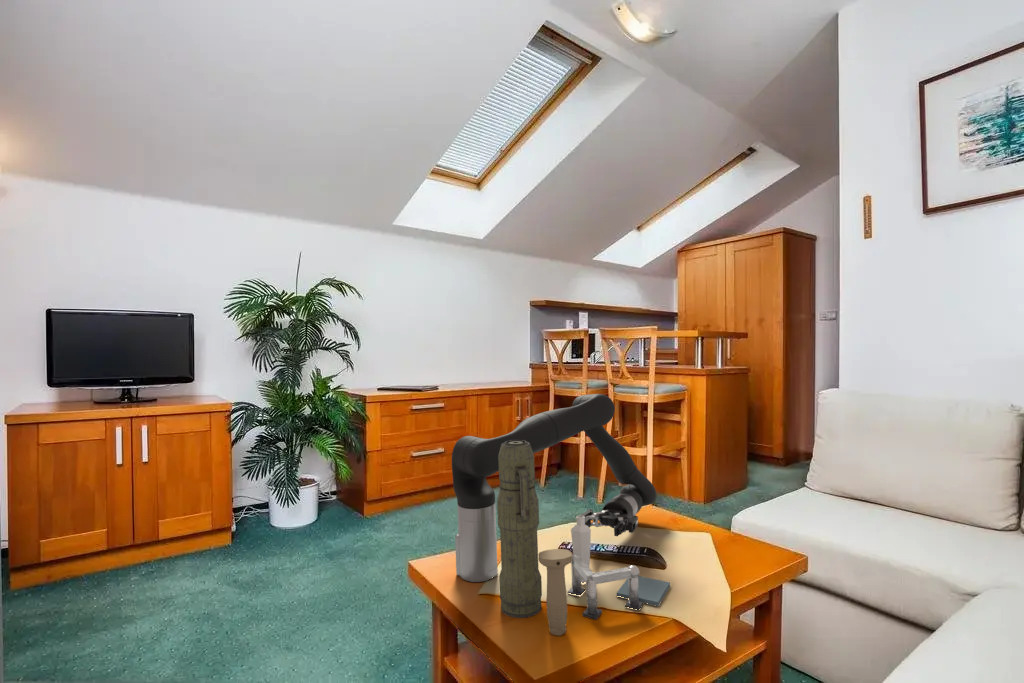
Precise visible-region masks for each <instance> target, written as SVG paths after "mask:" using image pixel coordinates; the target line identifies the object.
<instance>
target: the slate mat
mask: <svg viewBox="0 0 1024 683" xmlns="http://www.w3.org/2000/svg"><path fill="white" fill-rule="evenodd" d="M670 588H671V582H670V581H665V580H662V579H661V580H660V579H655V578H652V577H651V578H650V577H646V576H641V575H639V576H638V592H639V601H642V602H643V603H648V604H652V605H656V606H658V607H659V606H660V605H661V603H662V601H663V600H662V599H664V598H665V596H666V595H667V593H668V591H669V589H670ZM665 594H666V595H665ZM617 596H621V597H624V598H629V585H628V579H625V581H624V583H622V585H621V586H620V588H618V590H617V591H616V597H617ZM663 597H664V598H663ZM660 602H661V603H660ZM648 604H647V605H648ZM659 604H660V605H659ZM652 605H651V606H652ZM656 606H655V607H656Z"/></svg>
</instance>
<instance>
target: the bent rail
mask: <svg viewBox="0 0 1024 683" xmlns="http://www.w3.org/2000/svg"><path fill="white" fill-rule="evenodd" d="M570 565H571V568H570V569H571V587H570V589H568V590H567V594H568V593H571V594H576V595H581V594H582V593H583V592H584V591H585V590H586V607H587V608H586V609H585V610H584V611H583V612H582V617H584V618H589V619H592V620H595V621H597V620H598V619H599V617H600V616H601V615H602V614H603V610H602V609H600V608H598V597H597V596H598V593H597V585H599V584H604V583H605V584H606V583H612V582H617V581H621V580H627V579H628V585H629V600H626V602H625V604H624V608H625V607H629V608H633V609H637V610H639V609H640V608H641V609H642V607H643V606H644V604H643V602H642V601H639V592H638V576H640V569H639V568H638V567H637V566H636V565H635V564H632V565H631V564H630V565H628V567H627V566H626V567H620V568H615V569H609V570H602V571H598V572H593V571H592V570H591V569H590V568H589V567H588V566H587V565H586V564H585V563H584V562H583V560H582V559H581V557H580V556H579V555H578V554H573V553H572V561H571V563H570ZM581 576H582V577H583V578H584V580H585V581H586V584H585V585H586V588H585V587H582V585H581ZM642 605H643V606H642ZM641 606H642V607H641ZM641 609H640V610H641Z"/></svg>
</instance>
